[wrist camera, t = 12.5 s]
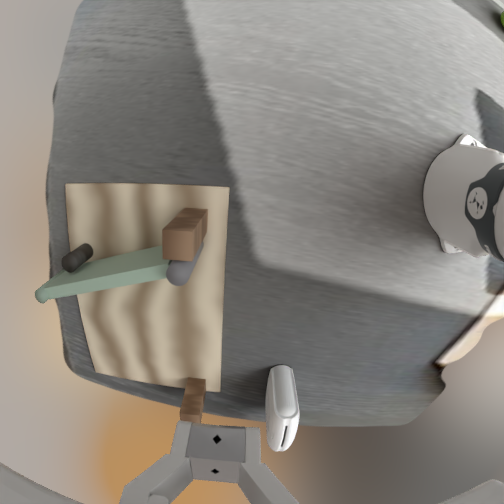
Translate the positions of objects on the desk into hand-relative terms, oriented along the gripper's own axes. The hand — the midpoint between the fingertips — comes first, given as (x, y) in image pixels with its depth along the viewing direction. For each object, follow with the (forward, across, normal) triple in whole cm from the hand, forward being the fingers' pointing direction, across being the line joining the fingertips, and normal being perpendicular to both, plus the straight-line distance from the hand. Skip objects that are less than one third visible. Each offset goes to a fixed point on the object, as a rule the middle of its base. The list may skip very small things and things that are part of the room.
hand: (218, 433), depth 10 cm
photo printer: (+31, -8, +28) cm, 43 cm away
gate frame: (+31, +14, +13) cm, 36 cm away
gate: (+30, +16, +6) cm, 34 cm away
